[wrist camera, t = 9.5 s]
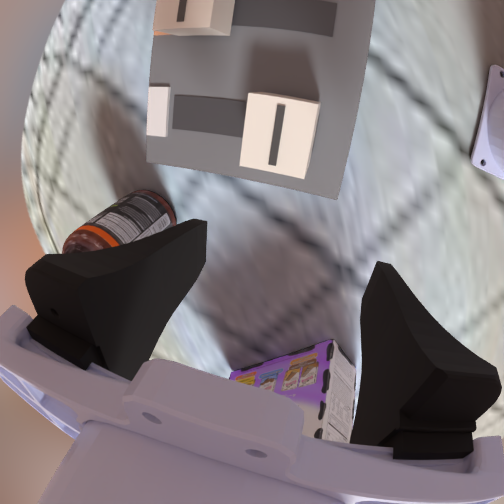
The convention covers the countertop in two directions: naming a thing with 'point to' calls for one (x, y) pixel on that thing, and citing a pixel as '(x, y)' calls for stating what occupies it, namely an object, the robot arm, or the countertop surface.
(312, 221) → the countertop surface
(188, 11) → the knob
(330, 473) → the robot arm
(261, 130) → the knob
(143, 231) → the supplement bottle
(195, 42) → the panel
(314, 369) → the candy box
